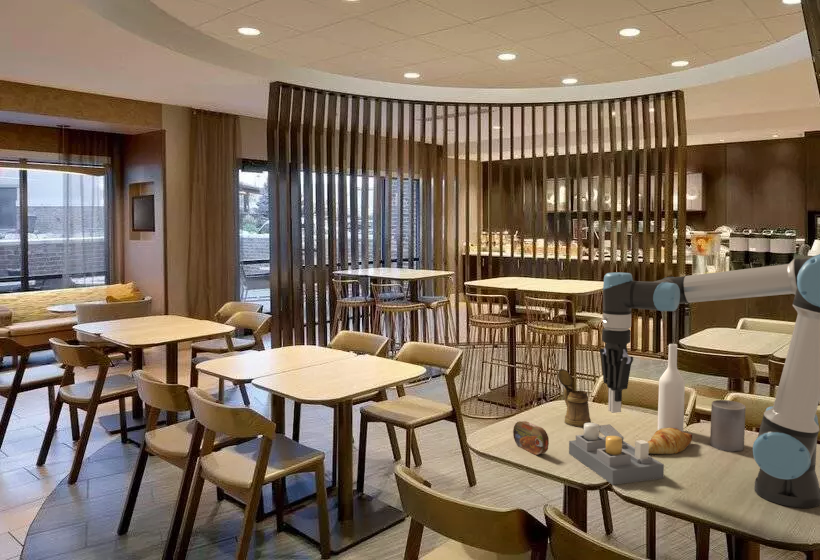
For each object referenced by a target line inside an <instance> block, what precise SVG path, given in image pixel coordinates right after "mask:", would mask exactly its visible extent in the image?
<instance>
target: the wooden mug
mask: <svg viewBox="0 0 820 560" xmlns="http://www.w3.org/2000/svg"><path fill="white" fill-rule="evenodd" d="M557 378H558V380H559V382H560V384H561V385H562V386H563V387H564V389H563V399H564V401H565V402H564V403H565V405H566V413H565V415H564V423H565V424H567V425H569V426H572V427H578V428H579V427H580V428H581V427H583V428H584V424H585V423H592V420H591V416H590V409H589V407H590V406H589V395H588V393H587V391H585V390H575V389H574V388H573V386H572V385H573V377H572V375H571V374H570V372H568V371H567V370H566V369H563V368H560V369H559V371H558V373H557Z"/></svg>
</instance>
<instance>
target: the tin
mask: <svg viewBox="0 0 820 560" xmlns="http://www.w3.org/2000/svg"><path fill="white" fill-rule="evenodd" d="M512 434H513V440H514V442H515V444H516V446H517V447H519V448H520V449H521V450H525V451H527V452H529V453H530V454H531V455H532V454H533V455H536V456H538V455H543V454H545V453H547V451H548V449H549V444H550V443H549V434H548V433H547V431H546V429H544V428H543V427H541V426H538V425H536V424H534V423H532V422H530V421H527V420H524V421H517V422H516V423H515V424H514V426H513V430H512Z"/></svg>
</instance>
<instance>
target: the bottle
mask: <svg viewBox="0 0 820 560" xmlns="http://www.w3.org/2000/svg"><path fill="white" fill-rule="evenodd" d="M667 359H668V361H667V368H666V369H665V371H664V372H663V373H662V375H661V376H660V377H659V381H658V399H657V400H658V405H657V431H658V430H659V429H661V428H662V429H663V428H675V429H679V430H680V431H682V432H684V423H685V421H684V419H685V418H684V417H685V416H684V415H685V392H686V391H685V390H686V389H685V388H686V386H685V385H686V382H685V379H684V378H683V376H682V375H681V372H680V370H679V369H678V344H676V343H669V344H668V358H667Z"/></svg>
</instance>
